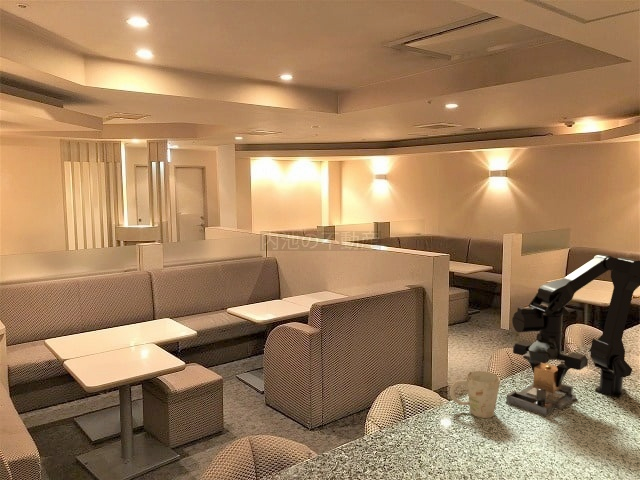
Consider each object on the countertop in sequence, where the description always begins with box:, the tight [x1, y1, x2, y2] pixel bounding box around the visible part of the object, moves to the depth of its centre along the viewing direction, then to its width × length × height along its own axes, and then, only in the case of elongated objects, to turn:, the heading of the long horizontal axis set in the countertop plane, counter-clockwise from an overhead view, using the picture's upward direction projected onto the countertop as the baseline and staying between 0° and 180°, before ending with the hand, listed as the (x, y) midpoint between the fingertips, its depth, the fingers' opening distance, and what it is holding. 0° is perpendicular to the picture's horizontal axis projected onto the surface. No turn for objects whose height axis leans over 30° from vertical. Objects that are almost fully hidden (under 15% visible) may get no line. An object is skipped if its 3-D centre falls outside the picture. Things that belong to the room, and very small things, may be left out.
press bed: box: [518, 382, 577, 411], centre depth 142 cm, size 11×12×3 cm
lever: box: [534, 388, 547, 407], centre depth 133 cm, size 2×3×5 cm
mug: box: [449, 370, 501, 419], centre depth 132 cm, size 8×13×10 cm, turn 78°
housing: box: [532, 363, 561, 393], centre depth 141 cm, size 6×6×6 cm
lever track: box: [505, 390, 554, 417], centre depth 136 cm, size 4×11×2 cm, turn 43°
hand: (547, 383), depth 142 cm, fingers closed on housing, 5 cm apart
